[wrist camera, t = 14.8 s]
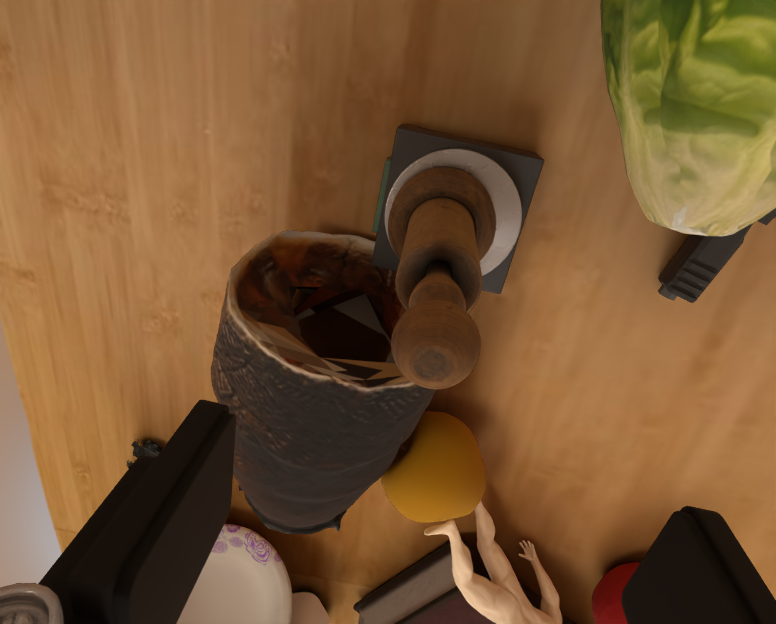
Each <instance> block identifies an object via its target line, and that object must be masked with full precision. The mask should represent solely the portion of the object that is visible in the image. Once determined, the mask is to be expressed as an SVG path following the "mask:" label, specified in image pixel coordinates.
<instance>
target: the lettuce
mask: <svg viewBox="0 0 776 624" xmlns="http://www.w3.org/2000/svg"><path fill="white" fill-rule="evenodd" d="M601 27H602V50H603V57H604V64H605V72H606V79H607V86H608V93H609V96H610V99H611V102H612V105H613V109H614V112H615V115H616V118H617V121H618V125H619V128H620V134H621V140H622V147H623V153H624V160H625V166H626V173H627V176H628V178H629V181H630V184H631V186H632V189H633V192H634V195H635V197H636V199H637V200H638V202H639V204H640V206H641V208H642V210H643V212H644V214H645V216H646V217H647V219H648V220H649V221H651V222H653V223H655V224H657V225H660V226H663V227H666V228H669V229H672V230H675V231H678V232H681V233H684V234H694V235H704V236H727V235H732V234H734V233H736V232H737V231H739V230H741V229H743V228H745V227H746V226H748V225H750V224H752V223H754V222H755V221H757V220H759V219H760V218H762V217H763V216H765V215H766V214H768V213H769V212H770V211H772V210H773V209H775V208H776V0H601Z"/></svg>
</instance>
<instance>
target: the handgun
mask: <svg viewBox="0 0 776 624" xmlns="http://www.w3.org/2000/svg"><path fill="white" fill-rule="evenodd" d="M774 217H776V208H775V209H773V210H772V211H770V212H769V213H768V214H766V215H765V216H763V217H762V218H760V219H759V220H757V221H759V222H761V223H763V224H765V225H767V224H768V223H769V222H770V221H771V220H772V219H773V218H774ZM752 224H753V223H752ZM752 224H750V225H748V226H746V227H745V228H743V229H741V230H739V231H737V232H736V233H734V234H732V235H727V236H704V235H694V234H691V235H690V236H689V238H688V239H687V240H686V241H685V243H684V244H683V245H682V247H681V248H680V249H679V251H678V252H677V253H676V255H675V256H674V257H673V259H672V260H671V261H670V263H669V264H668V265H667V267H666V268H665V269H664V271H663V272H662V274H661V275H660V276H659V278H658V279H659V280H660V282H661V283H662V286H661V287H660V289H659V290H658V292H659V293H660V294H661V295H663V296H664V297H666V298H668V299H671V300H675V298H676V297H677V296H679V297H681V298H683V299H685V300H687V301H689V302H691V303H693V302H695V301H696V300H697V299H698V297H699V296H700V295H701V294H702V292H703V291H704V290H705V289H706V287H707V286H708V285H709V284H710V282H711V281H712V280H713V279H714V278H715V276H716V275H717V274H718V273H719V271H720V270H721V269H722V268H723V266H724V265H725V264H726V263H727V261H728V260H729V259H730V258H731V257H732V255H733V254H734V253H735V252H736V250H737V249H738V248H739V247H740V245H741V244H742V243H743V240H744V237H745V235H746V233H747V232H748V230H749V229H750V227H751V226H752Z"/></svg>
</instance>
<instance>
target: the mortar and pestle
mask: <svg viewBox="0 0 776 624" xmlns="http://www.w3.org/2000/svg"><path fill="white" fill-rule="evenodd" d="M495 232H496V214H495V210H494V206H493V202H492V200H491V197H490V195H489V193H488V192H487V190H486V188H485V187H484V186H483V185H482V184H481V183H480V182H479V181H478V180H477V179H476V178H475V177H473V176H472V175H470V174H468V173H467V172H464V171H462V170H459V169H455V168H449V167H438V168H433V169H429V170H426V171H423V172H421V173H419V174H417V175H415V176H414V177H412V178H411V179H410V180H409V181H407V182H406V183H405V184H404V185H403V187H402V188H401V189H400V190H399V192H398V193H397V195H396V197H395V199H394V201H393V204H392V207H391V210H390V213H389V218H388V236H389V240H390V243H391V246H392V248H393V250H394V252H395V253H396V255H397V256H398V257H399V258H400V262H399V265H398V269H397V273H396V279H395V285H396V291H397V295H398V297H399V300H400V301H401V303H402V305H403V306H404V308H405V309H406V310H407V311H406V312H405V313H404V314H403V315H402V316H401V317H400V319H399V320H398V322H397V324H396V326H395V328H394V331H393V334H392V340H391V348H392V354H393V358H394V361H395V363H396V365H397V367H398V368H399V370H400V371H401V373H402V374H403V375H404V376H405V377H406V378H407V379H409V380H410V381H411V382H413V383H415V384H417V385H419V386H421V387H424V388H429V389H444V388H448V387H451V386H454V385H456V384H458V383H460V382H461V381H462V380H464V379H465V378H466V377H467V376H468V375H469V374H470V373H471V371H472V370H473V369H474V367H475V365H476V363H477V361H478V358H479V355H480V347H481V342H480V335H479V331H478V328H477V326H476V324H475V322H474V321H473V319H472V318H471V316H470V315H469V314H468V312H469V311H470V310H471V309H472V308H473V307H474V306H475V304H476V303H477V301H478V299H479V297H480V294H481V291H482V283H483V280H482V272H481V267H480V261H481V260H482V258H483V257H484V256H485V255H486V254H487V252H488V251H489V249H490V247H491V245H492V243H493V240H494V237H495Z"/></svg>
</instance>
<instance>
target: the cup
mask: <svg viewBox="0 0 776 624" xmlns="http://www.w3.org/2000/svg"><path fill="white" fill-rule="evenodd" d="M290 624H330V618H329V616H328V614H327V612H326V610H325V609H324V607H323V605H322V603H321V602H320V600H319V599H318V598H317V596H316V595H315V594H313V593H311V592H296V593H292V616H291V623H290Z"/></svg>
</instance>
